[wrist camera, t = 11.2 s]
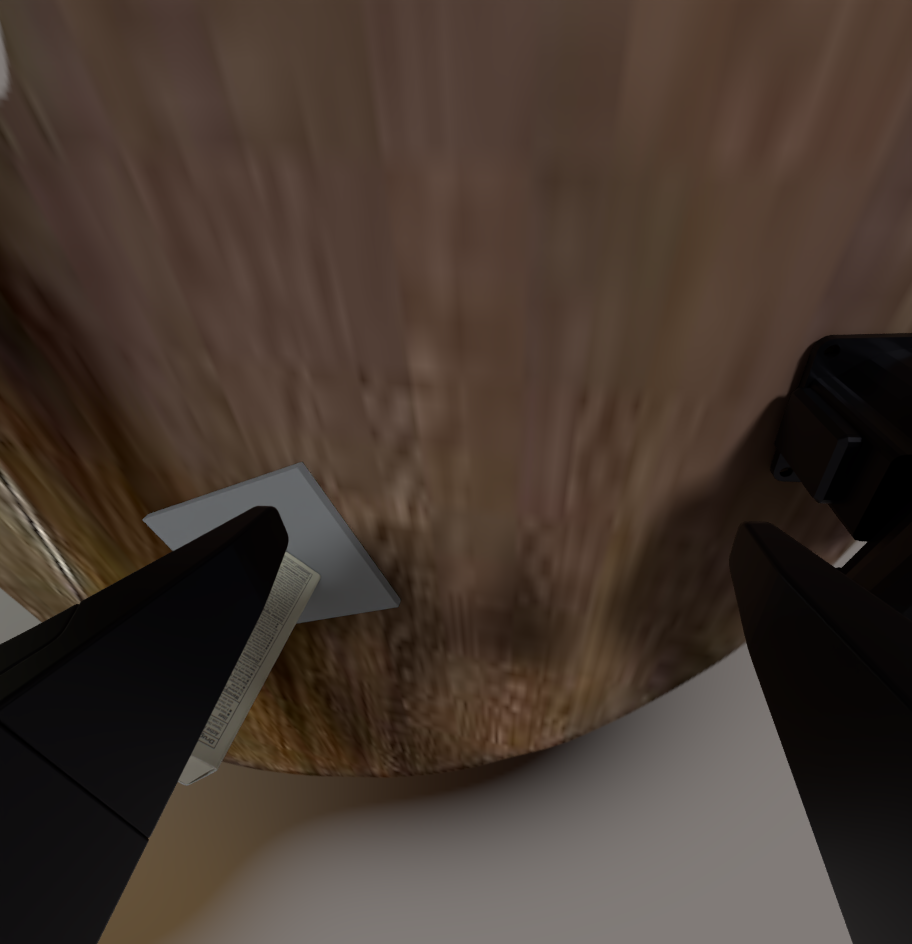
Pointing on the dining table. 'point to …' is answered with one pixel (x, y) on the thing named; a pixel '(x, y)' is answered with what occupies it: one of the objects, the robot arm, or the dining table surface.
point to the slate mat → (291, 538)
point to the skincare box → (252, 666)
